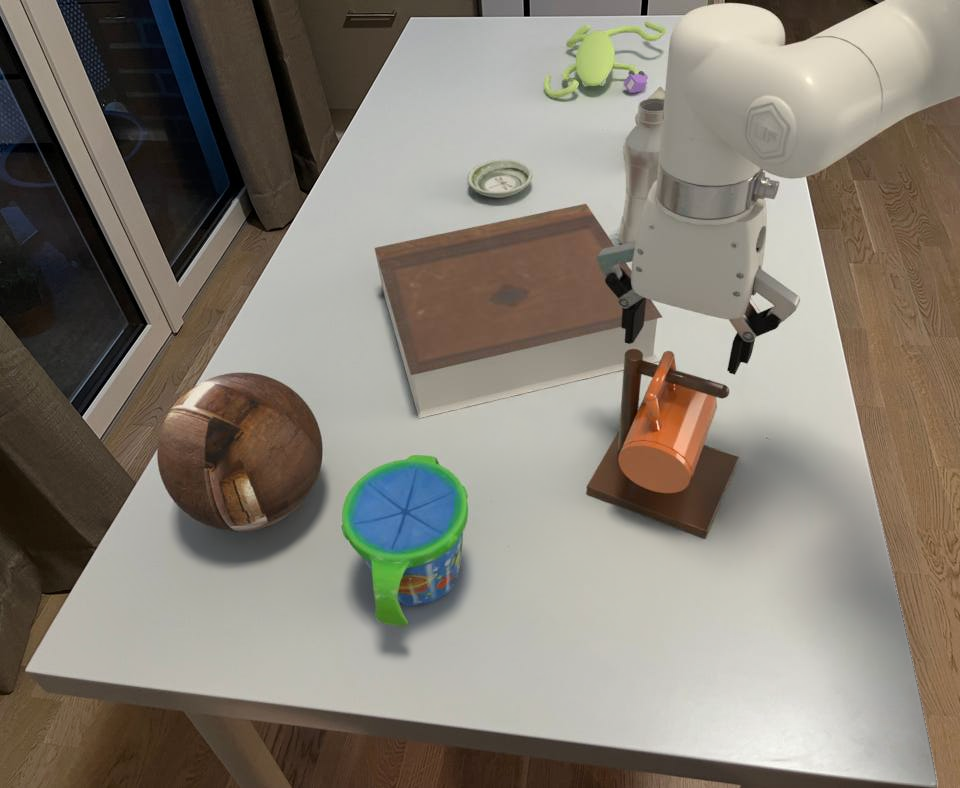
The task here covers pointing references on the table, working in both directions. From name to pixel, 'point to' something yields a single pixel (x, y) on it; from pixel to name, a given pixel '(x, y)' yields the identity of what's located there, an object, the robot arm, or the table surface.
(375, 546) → the snack cup
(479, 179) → the saucer
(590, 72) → the figurine
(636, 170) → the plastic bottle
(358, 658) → the table surface
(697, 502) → the mug stand
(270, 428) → the wooden sphere
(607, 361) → the book
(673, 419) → the mug
